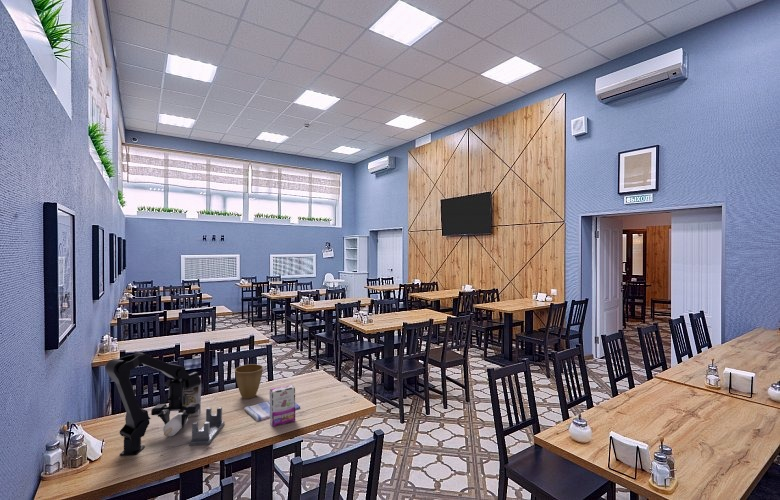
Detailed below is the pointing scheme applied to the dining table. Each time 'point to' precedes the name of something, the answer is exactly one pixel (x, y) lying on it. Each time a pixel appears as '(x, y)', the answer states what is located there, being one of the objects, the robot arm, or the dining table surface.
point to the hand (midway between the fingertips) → (175, 427)
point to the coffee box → (193, 398)
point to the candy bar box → (282, 405)
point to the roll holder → (207, 428)
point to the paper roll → (173, 425)
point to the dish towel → (261, 410)
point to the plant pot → (248, 379)
